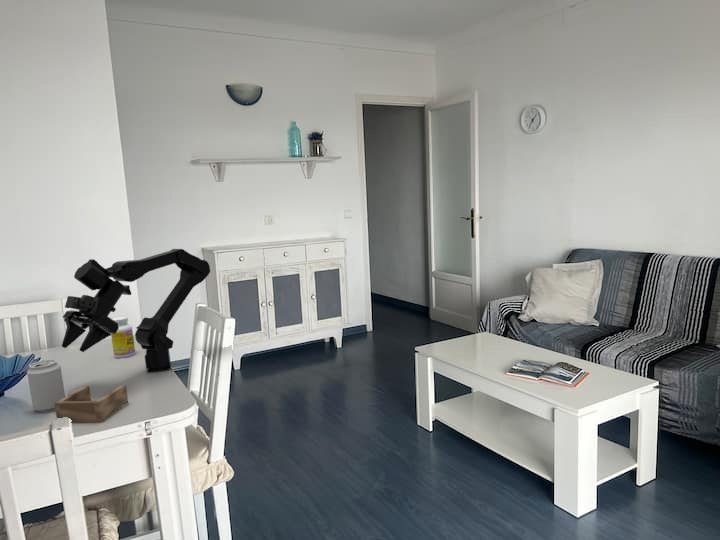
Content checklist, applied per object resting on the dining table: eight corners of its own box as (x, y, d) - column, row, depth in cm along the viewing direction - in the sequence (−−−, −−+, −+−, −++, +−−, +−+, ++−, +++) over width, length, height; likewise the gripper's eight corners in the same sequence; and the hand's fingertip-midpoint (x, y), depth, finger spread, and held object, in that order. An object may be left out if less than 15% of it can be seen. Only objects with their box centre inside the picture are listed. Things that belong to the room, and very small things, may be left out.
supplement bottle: (130, 357, 181) (125, 320, 179) (110, 359, 181) (105, 321, 179) (138, 351, 187) (133, 315, 185) (119, 353, 187) (114, 316, 186)
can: (35, 405, 143) (28, 361, 141) (67, 399, 146) (60, 356, 144) (31, 415, 136) (23, 369, 134) (65, 409, 139) (57, 363, 137)
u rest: (87, 403, 141) (84, 385, 141) (128, 403, 140) (125, 385, 139) (57, 422, 130) (54, 403, 130) (101, 422, 129) (98, 402, 128)
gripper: (64, 282, 152) (29, 330, 145) (101, 284, 141) (64, 337, 134) (96, 303, 160) (63, 350, 152) (133, 308, 149) (100, 358, 142)
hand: (72, 349), depth 145 cm, fingers open, 9 cm apart
